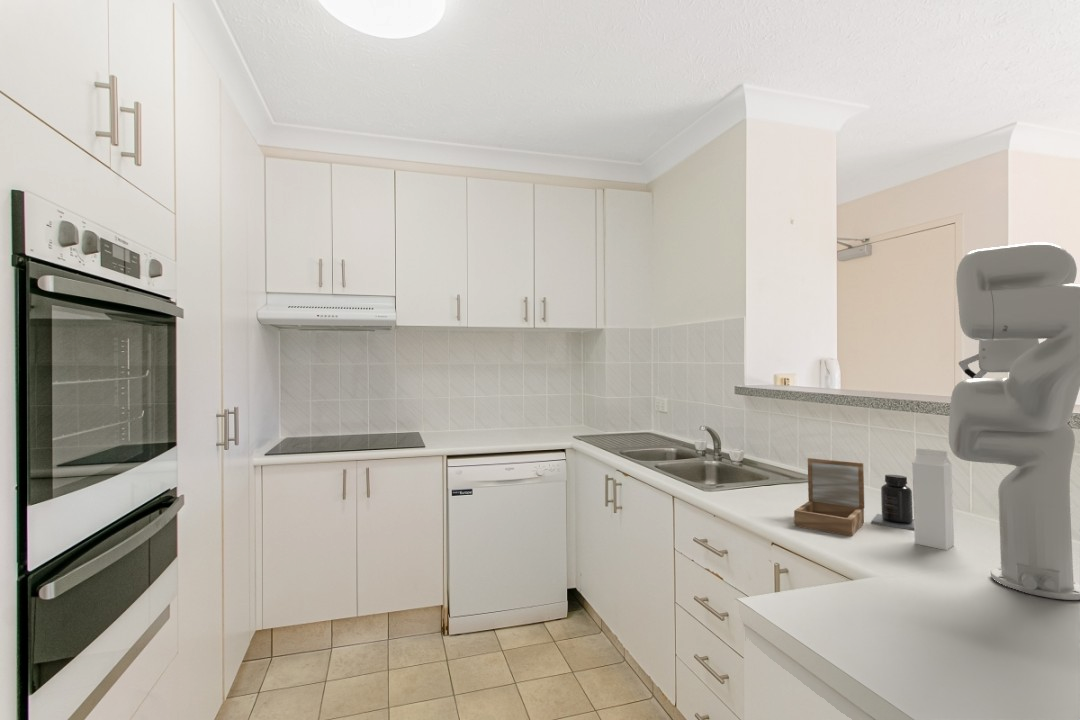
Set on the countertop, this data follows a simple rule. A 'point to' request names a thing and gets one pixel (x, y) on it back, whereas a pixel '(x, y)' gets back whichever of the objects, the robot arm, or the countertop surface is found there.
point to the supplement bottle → (896, 500)
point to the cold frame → (833, 497)
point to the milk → (933, 499)
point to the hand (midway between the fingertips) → (1010, 398)
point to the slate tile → (891, 523)
